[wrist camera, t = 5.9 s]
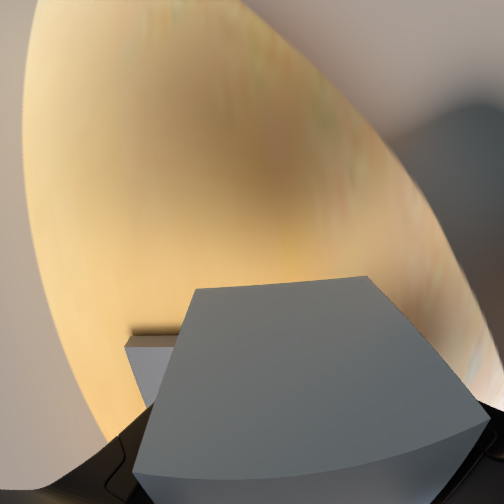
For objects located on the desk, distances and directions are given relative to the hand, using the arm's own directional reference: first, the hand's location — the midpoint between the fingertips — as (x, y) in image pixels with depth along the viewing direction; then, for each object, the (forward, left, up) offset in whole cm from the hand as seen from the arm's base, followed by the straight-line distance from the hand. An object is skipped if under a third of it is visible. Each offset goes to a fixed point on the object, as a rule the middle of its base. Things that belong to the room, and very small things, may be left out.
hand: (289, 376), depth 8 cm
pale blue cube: (0, 0, -1) cm, 1 cm away
